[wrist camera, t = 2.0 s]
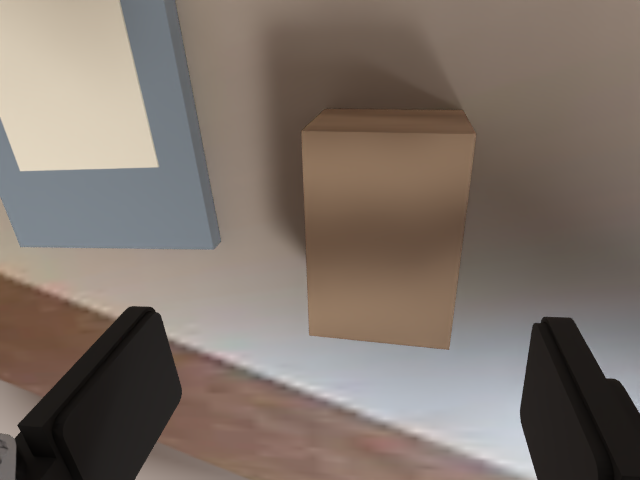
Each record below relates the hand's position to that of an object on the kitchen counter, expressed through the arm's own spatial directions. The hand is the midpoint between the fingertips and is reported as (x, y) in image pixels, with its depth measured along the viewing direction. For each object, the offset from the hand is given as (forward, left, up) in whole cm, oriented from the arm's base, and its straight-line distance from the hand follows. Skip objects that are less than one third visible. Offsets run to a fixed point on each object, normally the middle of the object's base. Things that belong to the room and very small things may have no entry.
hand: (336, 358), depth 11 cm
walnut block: (0, -1, -12) cm, 12 cm away
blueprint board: (+8, +14, -12) cm, 20 cm away
